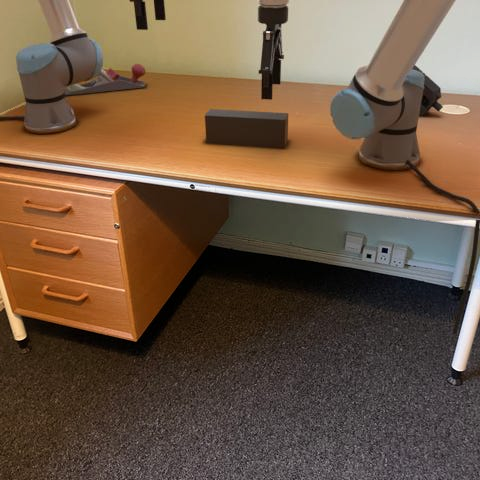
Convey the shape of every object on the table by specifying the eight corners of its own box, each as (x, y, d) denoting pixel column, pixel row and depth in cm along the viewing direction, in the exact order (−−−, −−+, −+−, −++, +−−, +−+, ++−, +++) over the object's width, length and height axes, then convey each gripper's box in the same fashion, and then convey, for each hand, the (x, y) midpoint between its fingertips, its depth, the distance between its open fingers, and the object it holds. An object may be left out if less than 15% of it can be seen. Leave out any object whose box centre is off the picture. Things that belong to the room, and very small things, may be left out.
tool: (380, 92, 178) (407, 55, 167) (423, 130, 174) (453, 95, 163) (371, 97, 174) (398, 59, 163) (415, 136, 170) (446, 100, 159)
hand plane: (62, 90, 197) (53, 48, 189) (145, 82, 205) (140, 41, 197) (62, 96, 191) (54, 53, 184) (148, 87, 199) (143, 45, 191)
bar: (287, 140, 151) (288, 113, 147) (284, 148, 146) (285, 119, 142) (211, 136, 155) (210, 108, 151) (206, 143, 151) (204, 115, 147)
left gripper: (146, -70, 140) (154, 16, 151) (106, -66, 120) (119, 33, 131) (173, -71, 139) (180, 16, 150) (137, -67, 118) (148, 34, 129)
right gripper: (266, -3, 142) (265, 77, 153) (247, 13, 121) (247, 105, 132) (295, -2, 140) (291, 78, 152) (280, 14, 120) (277, 106, 131)
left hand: (151, 24), depth 140 cm, fingers open, 13 cm apart
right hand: (271, 91), depth 142 cm, fingers open, 13 cm apart
